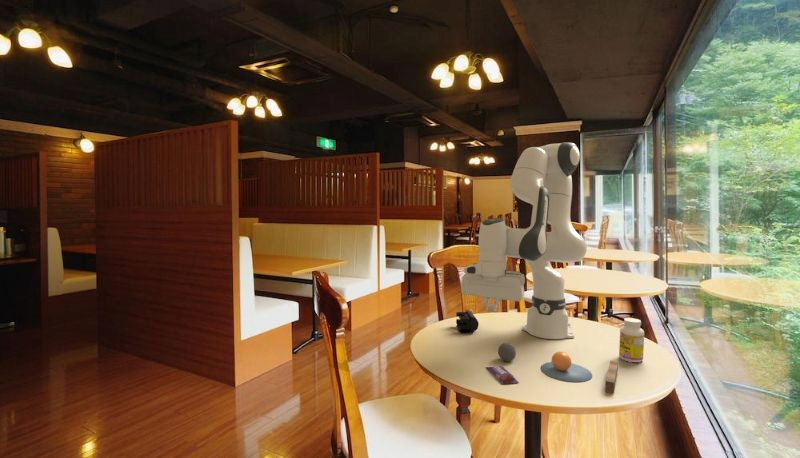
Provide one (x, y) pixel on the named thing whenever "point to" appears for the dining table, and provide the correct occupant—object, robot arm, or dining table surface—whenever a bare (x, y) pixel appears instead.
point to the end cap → (466, 322)
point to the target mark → (567, 373)
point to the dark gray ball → (507, 352)
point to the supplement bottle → (631, 341)
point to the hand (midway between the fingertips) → (491, 311)
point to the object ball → (561, 361)
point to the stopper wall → (611, 377)
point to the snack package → (502, 375)
